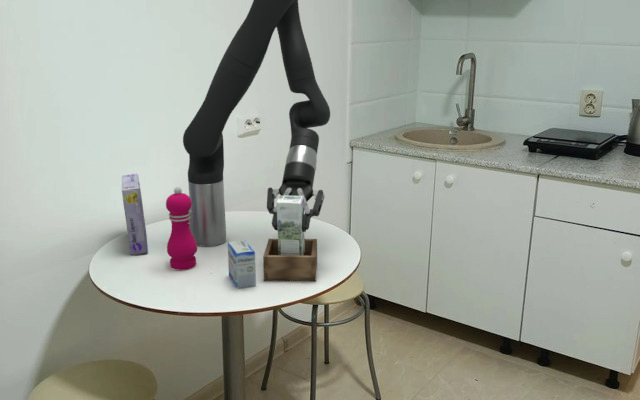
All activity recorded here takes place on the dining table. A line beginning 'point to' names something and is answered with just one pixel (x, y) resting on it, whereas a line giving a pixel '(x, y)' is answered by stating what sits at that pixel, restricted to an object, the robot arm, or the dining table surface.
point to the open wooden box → (290, 263)
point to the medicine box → (241, 264)
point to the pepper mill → (180, 232)
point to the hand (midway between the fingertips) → (289, 229)
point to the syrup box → (290, 225)
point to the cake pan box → (134, 214)
